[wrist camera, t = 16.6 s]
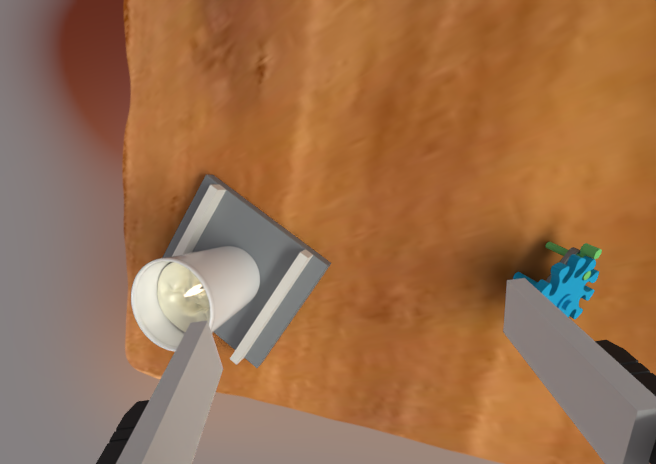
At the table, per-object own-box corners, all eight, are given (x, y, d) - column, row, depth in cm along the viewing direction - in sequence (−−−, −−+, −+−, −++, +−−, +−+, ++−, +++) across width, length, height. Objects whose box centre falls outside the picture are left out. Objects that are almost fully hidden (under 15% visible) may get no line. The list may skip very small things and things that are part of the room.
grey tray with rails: (158, 276, 52) (140, 283, 49) (212, 174, 47) (196, 174, 44) (262, 362, 49) (250, 375, 46) (331, 263, 45) (323, 269, 41)
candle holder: (207, 230, 47) (137, 245, 36) (273, 252, 45) (220, 276, 34) (195, 297, 49) (124, 332, 38) (257, 321, 47) (202, 366, 35)
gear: (556, 356, 37) (517, 337, 32) (508, 322, 42) (467, 300, 36) (622, 271, 36) (594, 234, 30) (565, 245, 41) (532, 210, 35)
